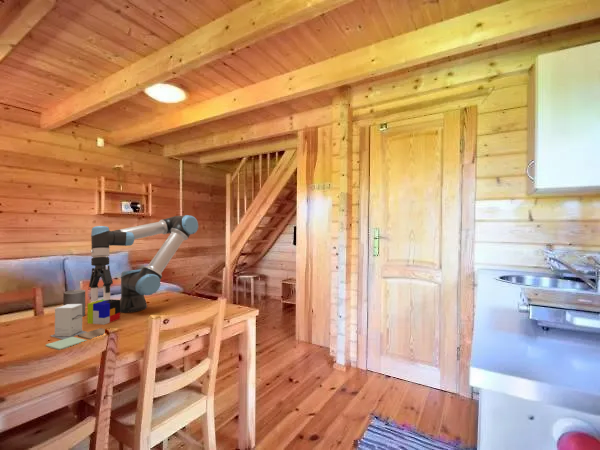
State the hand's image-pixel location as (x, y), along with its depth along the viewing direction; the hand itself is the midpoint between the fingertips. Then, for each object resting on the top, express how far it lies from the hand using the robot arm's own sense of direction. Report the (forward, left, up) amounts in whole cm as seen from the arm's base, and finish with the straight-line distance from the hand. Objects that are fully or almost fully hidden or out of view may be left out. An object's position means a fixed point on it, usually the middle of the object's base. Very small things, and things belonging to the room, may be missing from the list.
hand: (100, 300), depth 148 cm
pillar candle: (-4, -29, -13) cm, 32 cm away
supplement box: (+13, -2, -12) cm, 18 cm away
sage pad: (+20, +9, -13) cm, 25 cm away
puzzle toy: (-6, -7, -13) cm, 16 cm away
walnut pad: (+8, +9, -13) cm, 18 cm away
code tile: (+13, -2, -13) cm, 18 cm away
